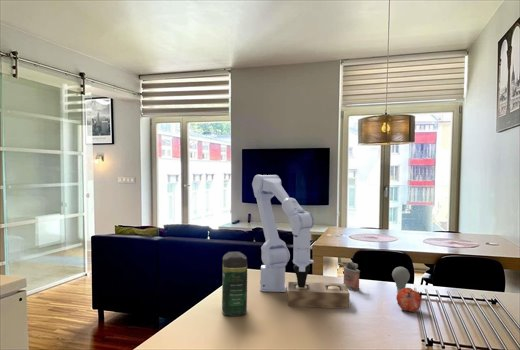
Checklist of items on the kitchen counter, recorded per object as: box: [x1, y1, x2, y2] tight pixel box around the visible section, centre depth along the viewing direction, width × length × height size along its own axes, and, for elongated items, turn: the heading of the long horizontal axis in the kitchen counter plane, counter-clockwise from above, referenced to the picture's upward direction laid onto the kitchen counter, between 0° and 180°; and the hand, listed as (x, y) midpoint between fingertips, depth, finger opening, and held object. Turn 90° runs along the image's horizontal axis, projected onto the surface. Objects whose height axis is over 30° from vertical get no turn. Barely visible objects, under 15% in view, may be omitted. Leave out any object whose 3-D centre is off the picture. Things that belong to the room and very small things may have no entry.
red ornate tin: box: [342, 261, 361, 292], centre depth 136 cm, size 8×3×10 cm, turn 25°
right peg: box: [328, 286, 340, 290], centre depth 121 cm, size 4×4×5 cm
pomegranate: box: [396, 287, 422, 313], centre depth 115 cm, size 7×7×10 cm
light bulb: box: [391, 266, 411, 293], centre depth 130 cm, size 6×6×10 cm
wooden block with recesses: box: [287, 281, 351, 309], centre depth 121 cm, size 20×10×5 cm, turn 85°
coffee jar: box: [221, 251, 248, 317], centre depth 113 cm, size 10×8×19 cm
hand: (301, 286), depth 122 cm, fingers closed, pressing on left peg
